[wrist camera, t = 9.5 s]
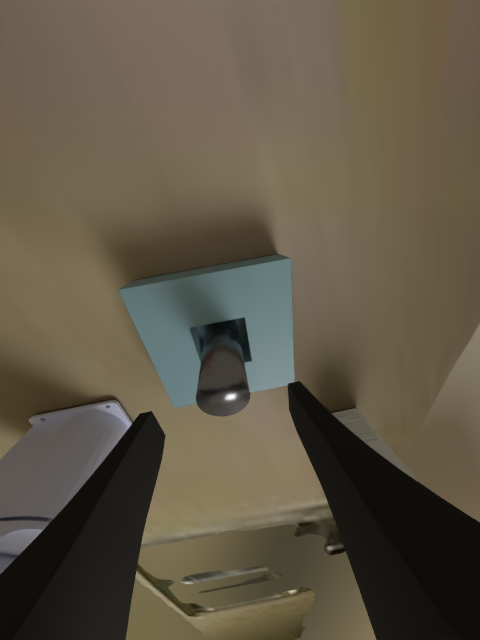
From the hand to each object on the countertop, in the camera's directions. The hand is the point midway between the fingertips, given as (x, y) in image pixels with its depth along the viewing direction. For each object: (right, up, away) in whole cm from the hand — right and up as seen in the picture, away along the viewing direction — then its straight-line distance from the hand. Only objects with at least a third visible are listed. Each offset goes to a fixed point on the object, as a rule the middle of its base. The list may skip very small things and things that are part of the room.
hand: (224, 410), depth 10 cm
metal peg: (-1, +4, +8) cm, 9 cm away
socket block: (-1, +4, +8) cm, 9 cm away
